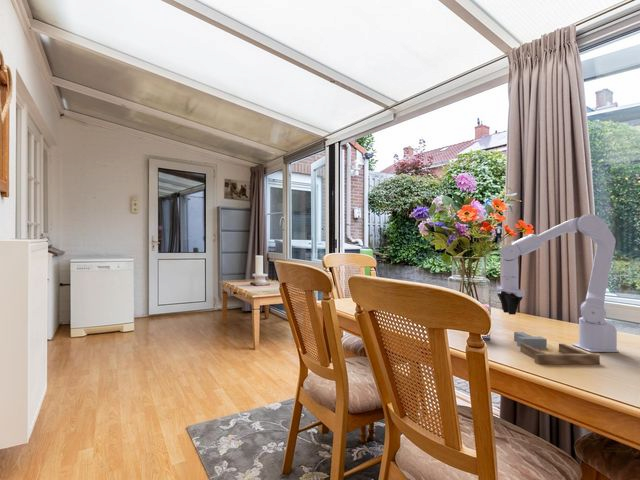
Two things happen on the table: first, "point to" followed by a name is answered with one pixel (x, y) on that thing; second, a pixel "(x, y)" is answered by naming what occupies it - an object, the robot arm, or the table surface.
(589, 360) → the walnut bay
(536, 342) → the t block
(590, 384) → the table surface
